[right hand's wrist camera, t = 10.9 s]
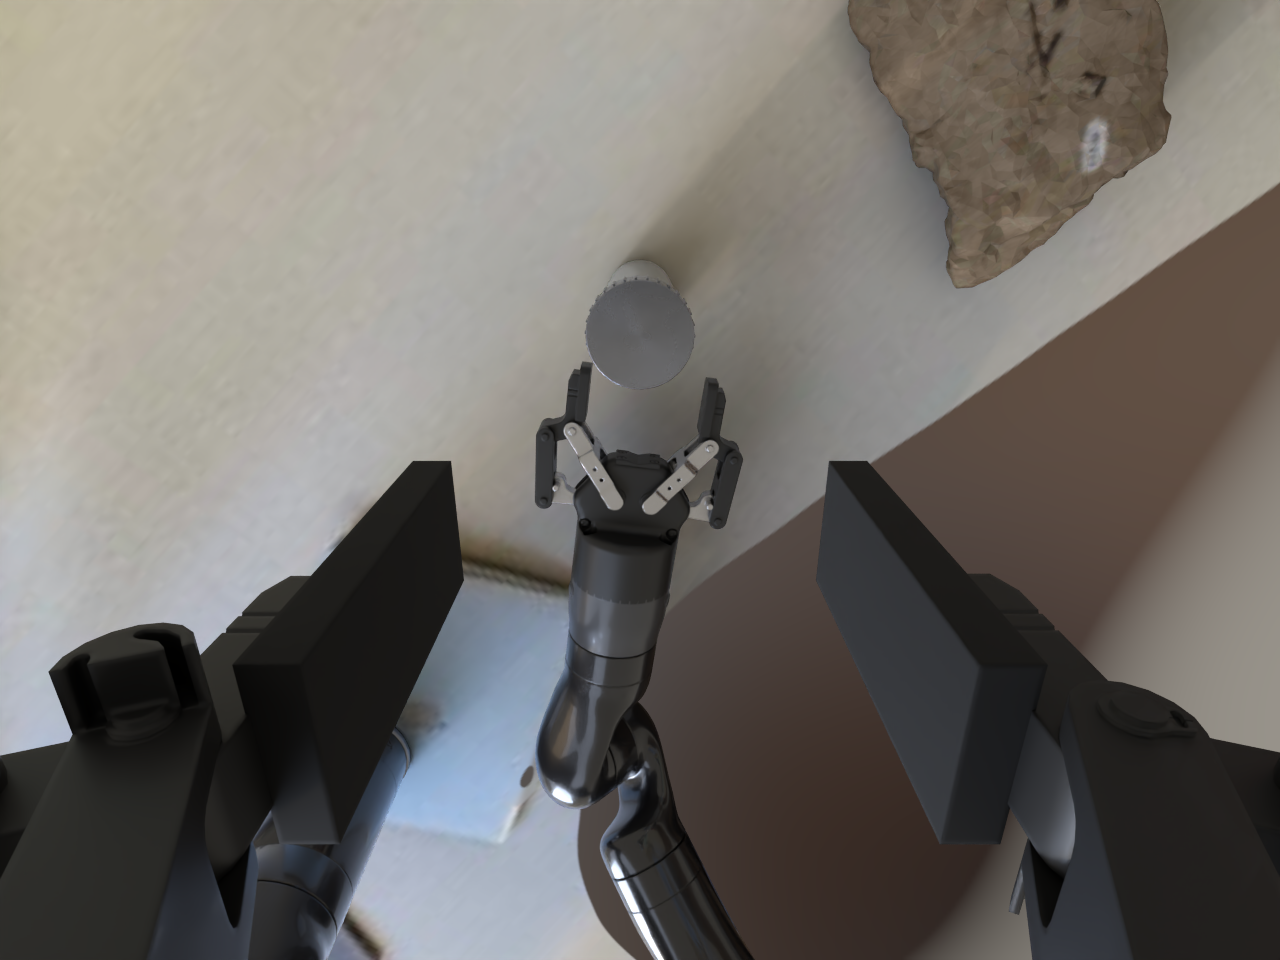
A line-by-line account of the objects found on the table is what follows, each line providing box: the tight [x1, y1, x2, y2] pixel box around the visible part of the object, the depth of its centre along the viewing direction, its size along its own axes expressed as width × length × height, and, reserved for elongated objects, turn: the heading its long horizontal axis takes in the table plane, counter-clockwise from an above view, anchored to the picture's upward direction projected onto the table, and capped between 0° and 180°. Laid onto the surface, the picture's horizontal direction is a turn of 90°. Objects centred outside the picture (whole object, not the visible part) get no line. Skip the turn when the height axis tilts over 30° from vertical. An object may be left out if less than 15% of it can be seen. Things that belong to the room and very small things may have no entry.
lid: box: [585, 274, 695, 389], centre depth 35 cm, size 6×6×2 cm
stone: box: [848, 0, 1171, 288], centre depth 43 cm, size 21×15×6 cm
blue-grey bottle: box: [607, 260, 673, 288], centre depth 43 cm, size 5×5×17 cm
